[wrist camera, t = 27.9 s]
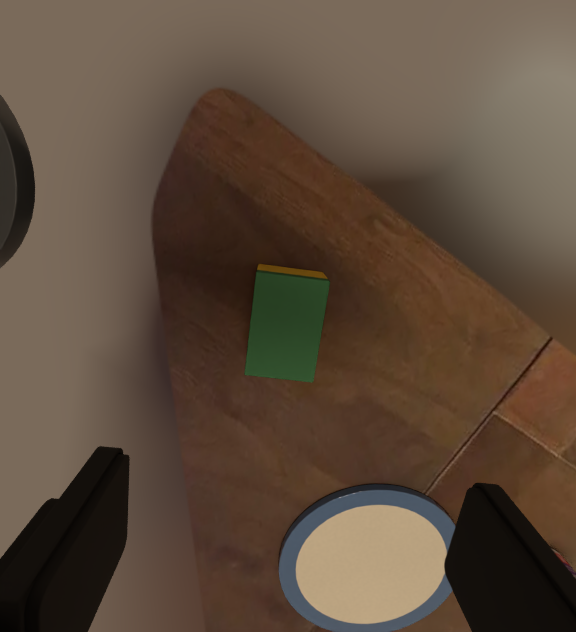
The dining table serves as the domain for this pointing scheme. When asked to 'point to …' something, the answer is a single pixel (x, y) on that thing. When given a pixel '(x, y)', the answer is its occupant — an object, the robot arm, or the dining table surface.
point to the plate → (367, 559)
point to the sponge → (286, 323)
